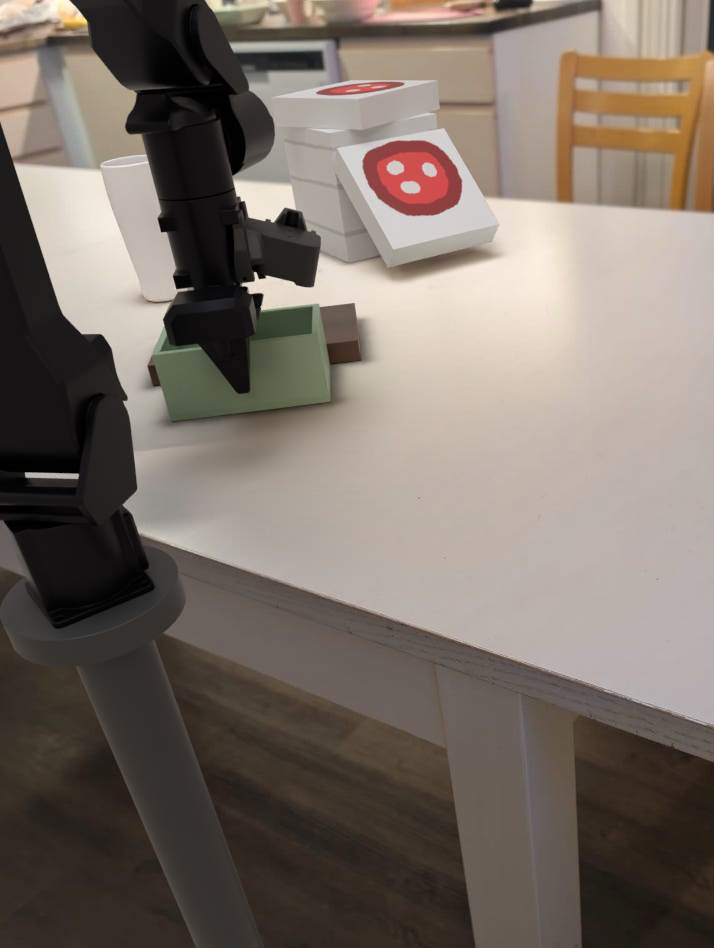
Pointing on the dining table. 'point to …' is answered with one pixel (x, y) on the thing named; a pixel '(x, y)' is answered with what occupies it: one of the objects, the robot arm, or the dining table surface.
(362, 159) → the pizza boxes
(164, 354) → the cutlery holder
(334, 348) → the bread board
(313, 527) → the dining table surface
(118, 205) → the drinking glass
